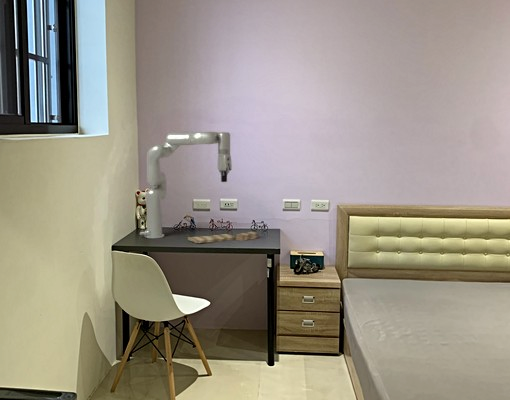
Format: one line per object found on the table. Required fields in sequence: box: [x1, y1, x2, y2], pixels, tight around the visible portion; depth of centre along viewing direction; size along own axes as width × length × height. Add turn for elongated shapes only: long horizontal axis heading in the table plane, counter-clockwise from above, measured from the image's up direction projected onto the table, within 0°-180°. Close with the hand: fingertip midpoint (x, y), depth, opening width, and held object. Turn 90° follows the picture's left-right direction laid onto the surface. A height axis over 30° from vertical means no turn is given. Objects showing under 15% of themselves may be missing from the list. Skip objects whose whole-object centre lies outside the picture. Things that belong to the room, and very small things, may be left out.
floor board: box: [208, 233, 237, 243], centre depth 365 cm, size 14×12×2 cm
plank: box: [187, 235, 218, 244], centre depth 357 cm, size 14×12×2 cm
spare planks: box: [235, 231, 259, 242], centre depth 367 cm, size 15×7×3 cm, turn 134°
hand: (224, 181), depth 357 cm, fingers closed
